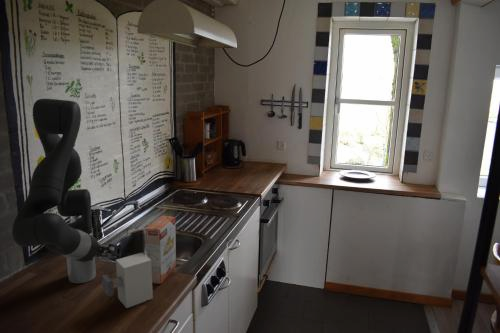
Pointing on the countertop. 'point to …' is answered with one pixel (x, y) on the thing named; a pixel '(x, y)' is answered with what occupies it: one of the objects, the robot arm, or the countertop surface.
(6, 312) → the countertop surface
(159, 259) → the cracker box
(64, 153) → the robot arm
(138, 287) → the key block
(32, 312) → the countertop surface
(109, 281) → the block
